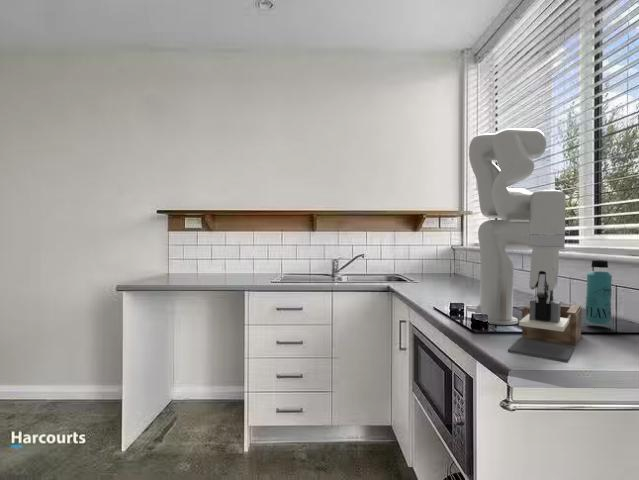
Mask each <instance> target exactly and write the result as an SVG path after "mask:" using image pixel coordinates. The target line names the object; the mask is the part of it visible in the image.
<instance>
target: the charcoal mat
mask: <svg viewBox="0 0 639 480" xmlns="http://www.w3.org/2000/svg"><path fill="white" fill-rule="evenodd" d="M575 349H576V347H575V346H573V345H566V344H560V343H553V342H546V341H540V340H533V339H527V338H522V337H520V338H518V339H517V340H516V342H514V343H513V344H512V345H511V346H510V347H509V348H508V349H507V353H511V354H517V355H524V356H529V357H534V358H540V359H545V360H551V361H552V360H553V361H558V362H564V363H569V361H570V358H571V357H572V355H573V353H574V351H575Z"/></svg>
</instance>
